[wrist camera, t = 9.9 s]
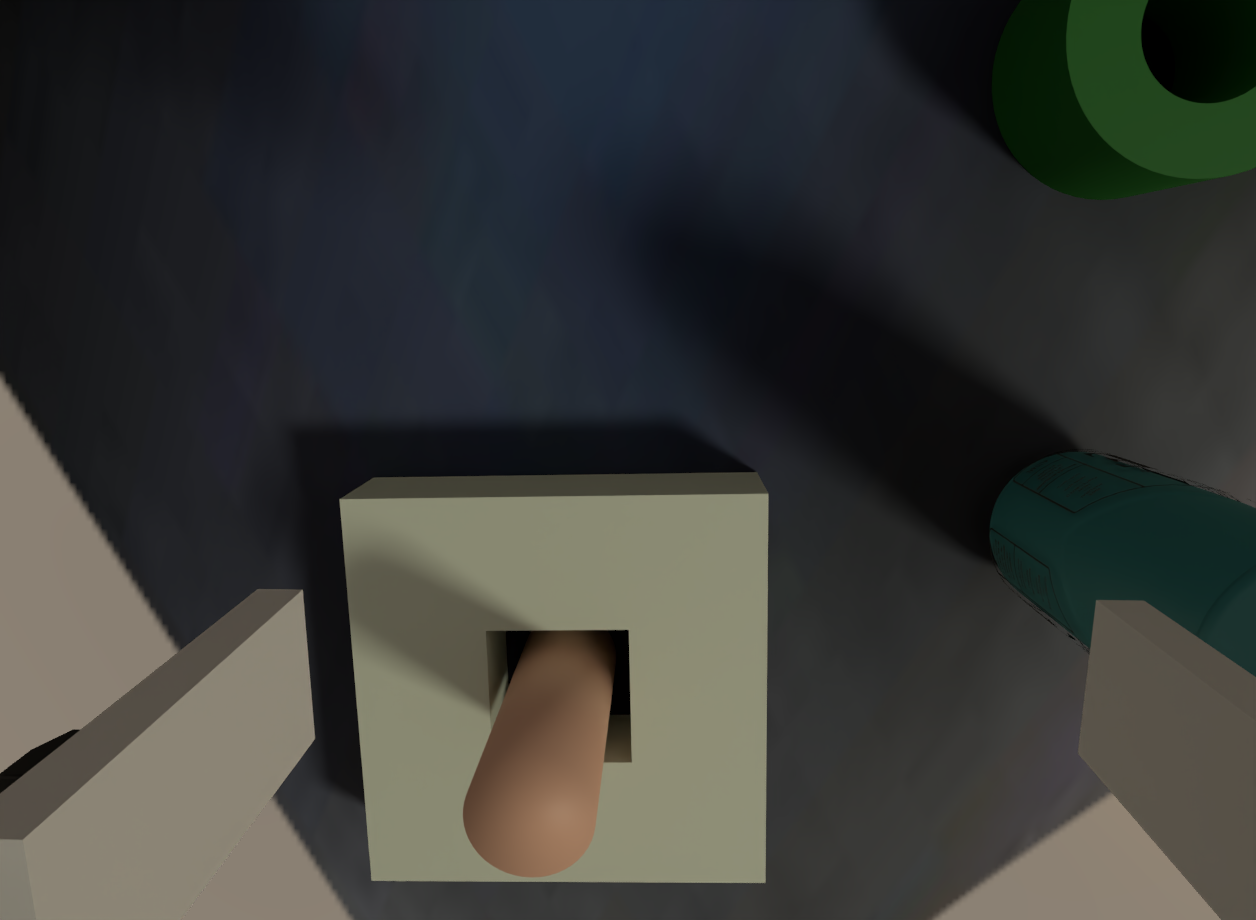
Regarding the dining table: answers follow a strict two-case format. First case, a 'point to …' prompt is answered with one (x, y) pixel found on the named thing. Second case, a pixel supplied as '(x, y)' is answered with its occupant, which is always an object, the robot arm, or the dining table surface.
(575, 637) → the peg
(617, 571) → the socket board
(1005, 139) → the slotted cylinder bracket
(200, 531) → the dining table surface
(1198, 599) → the beverage bottle
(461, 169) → the dining table surface
